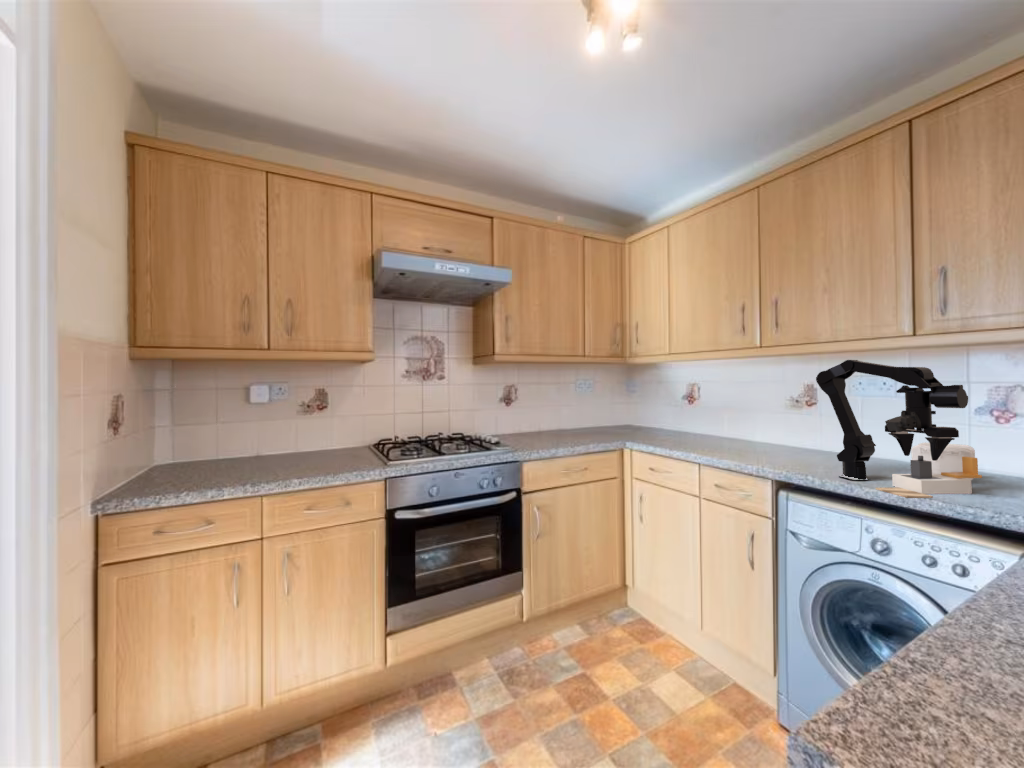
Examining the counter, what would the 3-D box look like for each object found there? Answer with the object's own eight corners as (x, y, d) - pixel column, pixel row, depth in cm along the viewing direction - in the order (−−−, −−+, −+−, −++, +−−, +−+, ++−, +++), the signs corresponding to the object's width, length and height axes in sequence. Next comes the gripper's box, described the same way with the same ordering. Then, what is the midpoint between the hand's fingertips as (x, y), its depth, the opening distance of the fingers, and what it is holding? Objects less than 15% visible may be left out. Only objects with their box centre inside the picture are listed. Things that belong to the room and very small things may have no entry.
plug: (901, 478, 131) (900, 454, 131) (924, 478, 130) (923, 454, 131) (918, 482, 125) (917, 457, 125) (943, 482, 124) (942, 457, 125)
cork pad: (875, 489, 130) (875, 487, 130) (899, 489, 129) (899, 487, 129) (907, 497, 119) (906, 496, 119) (932, 497, 118) (932, 496, 118)
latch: (941, 474, 130) (940, 456, 130) (964, 474, 129) (963, 456, 129) (957, 478, 125) (956, 458, 125) (981, 477, 124) (980, 458, 124)
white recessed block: (892, 486, 133) (892, 474, 133) (938, 486, 132) (938, 473, 132) (921, 494, 123) (921, 480, 123) (971, 493, 122) (971, 480, 122)
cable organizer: (979, 480, 140) (978, 445, 140) (974, 484, 134) (972, 448, 134) (918, 473, 152) (917, 441, 153) (911, 477, 146) (909, 444, 147)
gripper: (866, 406, 138) (868, 453, 138) (918, 409, 119) (920, 463, 119) (902, 406, 137) (903, 453, 137) (959, 408, 119) (961, 463, 118)
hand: (920, 458), depth 128 cm, fingers open, 9 cm apart
